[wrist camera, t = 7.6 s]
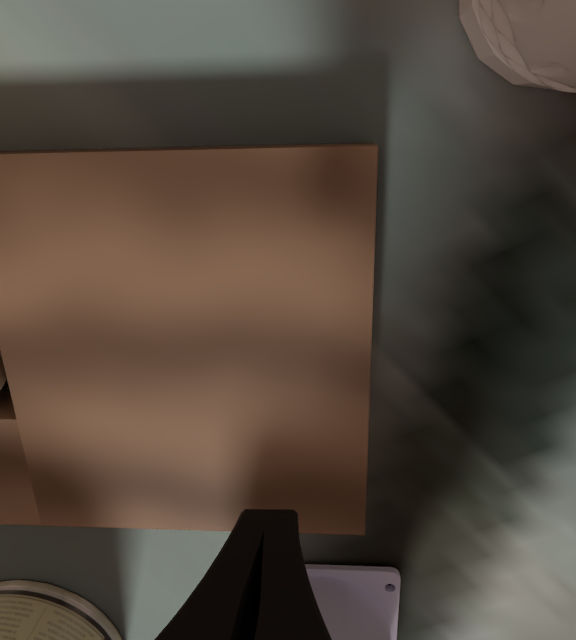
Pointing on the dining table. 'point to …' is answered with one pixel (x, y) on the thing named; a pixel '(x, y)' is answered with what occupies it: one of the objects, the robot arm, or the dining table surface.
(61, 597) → the coffee can
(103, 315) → the board
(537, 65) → the white cup
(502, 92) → the dining table surface
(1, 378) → the ball
